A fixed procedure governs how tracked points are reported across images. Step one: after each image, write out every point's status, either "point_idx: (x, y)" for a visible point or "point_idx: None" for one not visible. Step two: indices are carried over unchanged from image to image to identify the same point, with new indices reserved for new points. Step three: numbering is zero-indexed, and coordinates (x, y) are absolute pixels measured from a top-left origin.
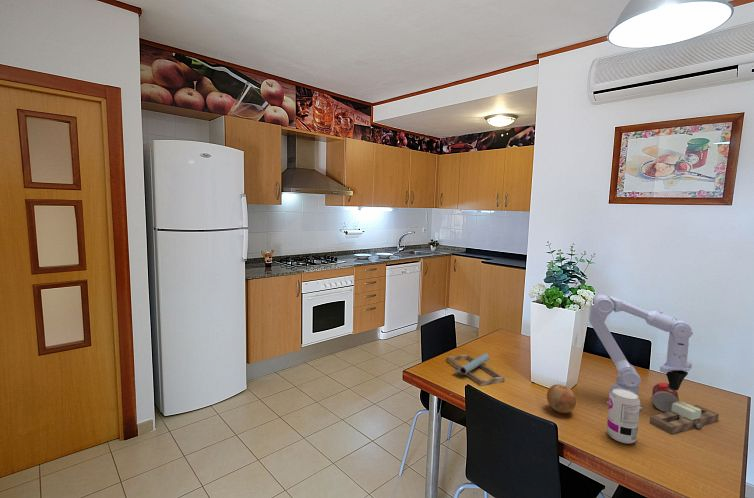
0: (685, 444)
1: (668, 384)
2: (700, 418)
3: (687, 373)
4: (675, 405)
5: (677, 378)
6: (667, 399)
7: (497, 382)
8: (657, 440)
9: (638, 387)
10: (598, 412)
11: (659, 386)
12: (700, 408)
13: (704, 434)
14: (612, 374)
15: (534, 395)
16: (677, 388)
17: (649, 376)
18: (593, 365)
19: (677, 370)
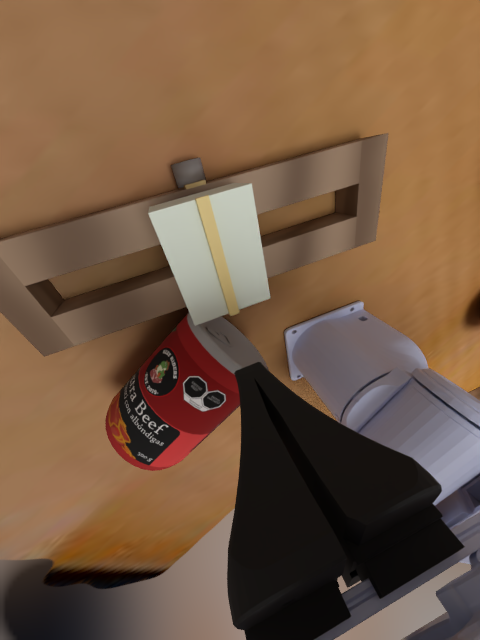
0: (389, 30)
1: (150, 458)
2: (148, 207)
3: (264, 579)
4: (265, 280)
5: (358, 437)
6: (229, 348)
7: (470, 393)
8: (452, 102)
9: (368, 381)
10: (424, 298)
11: (209, 432)
12: (47, 320)
13: (202, 106)
14: (194, 498)
15: (462, 359)
16: (257, 372)
17: (69, 529)
18: (208, 521)
19: (379, 581)
